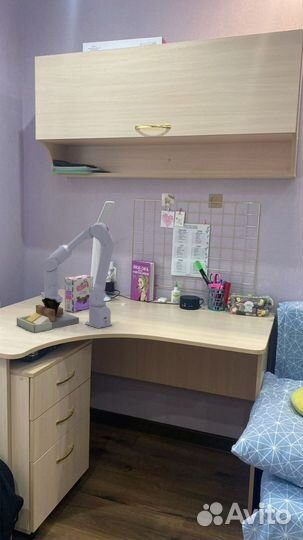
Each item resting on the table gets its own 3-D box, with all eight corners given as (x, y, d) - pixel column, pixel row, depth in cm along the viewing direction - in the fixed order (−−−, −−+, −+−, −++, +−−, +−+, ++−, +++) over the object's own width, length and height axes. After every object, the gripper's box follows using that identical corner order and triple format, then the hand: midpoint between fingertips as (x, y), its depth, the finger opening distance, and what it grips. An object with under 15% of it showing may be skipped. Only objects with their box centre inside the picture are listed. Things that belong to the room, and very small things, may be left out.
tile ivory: (50, 321, 179) (48, 317, 178) (41, 328, 176) (38, 324, 175) (44, 319, 182) (42, 315, 181) (34, 326, 180) (32, 322, 179)
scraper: (69, 317, 184) (69, 307, 184) (51, 321, 178) (50, 310, 177) (54, 311, 193) (53, 302, 192) (36, 315, 187) (35, 305, 186)
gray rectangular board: (79, 323, 187) (79, 316, 187) (34, 333, 172) (34, 325, 171) (61, 316, 198) (61, 309, 197) (16, 325, 183) (16, 317, 182)
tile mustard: (43, 318, 183) (41, 314, 182) (33, 325, 180) (31, 321, 179) (37, 316, 187) (35, 312, 186) (27, 323, 184) (25, 319, 183)
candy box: (72, 313, 204) (72, 279, 202) (64, 311, 208) (64, 277, 205) (93, 307, 215) (93, 275, 213) (85, 306, 219) (85, 274, 216)
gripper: (34, 283, 186) (34, 313, 188) (51, 288, 175) (52, 320, 177) (48, 281, 190) (49, 311, 192) (66, 286, 180) (66, 317, 182)
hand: (51, 315), depth 185 cm, fingers closed on scraper, 3 cm apart
